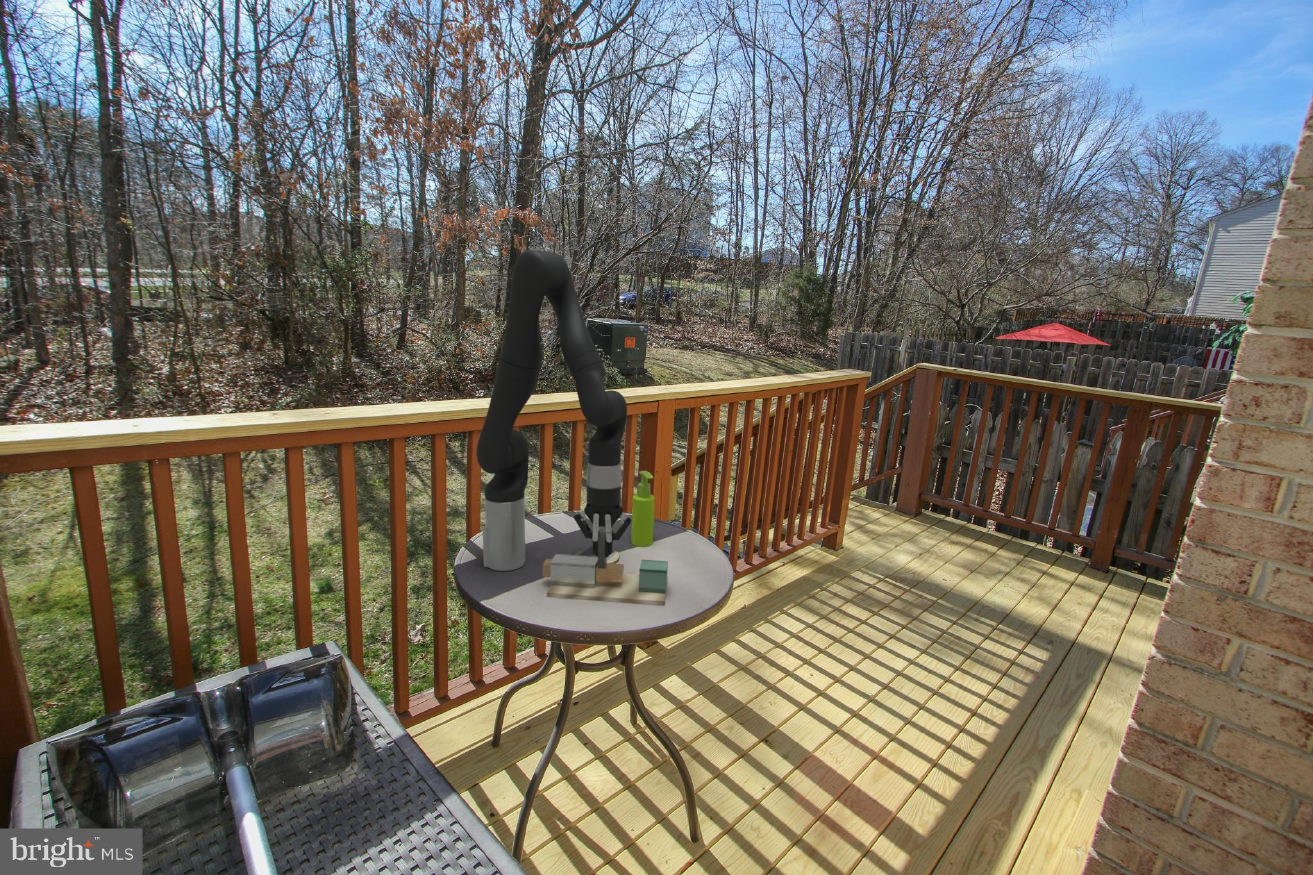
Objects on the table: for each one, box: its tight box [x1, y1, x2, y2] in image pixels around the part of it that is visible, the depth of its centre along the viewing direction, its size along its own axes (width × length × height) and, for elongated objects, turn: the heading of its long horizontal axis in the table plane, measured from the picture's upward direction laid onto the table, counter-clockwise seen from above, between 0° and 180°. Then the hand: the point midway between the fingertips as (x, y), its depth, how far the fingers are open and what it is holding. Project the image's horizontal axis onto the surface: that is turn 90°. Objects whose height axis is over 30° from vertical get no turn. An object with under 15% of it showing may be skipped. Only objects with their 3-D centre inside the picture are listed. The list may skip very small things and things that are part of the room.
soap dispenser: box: [630, 470, 656, 548], centre depth 163 cm, size 6×7×20 cm
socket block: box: [638, 559, 669, 594], centre depth 138 cm, size 6×5×6 cm
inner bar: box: [542, 531, 625, 582], centre depth 138 cm, size 18×3×10 cm, turn 86°
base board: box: [546, 572, 669, 606], centre depth 140 cm, size 26×12×1 cm, turn 86°
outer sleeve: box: [550, 553, 598, 588], centre depth 139 cm, size 10×5×6 cm, turn 85°
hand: (602, 555), depth 138 cm, fingers closed on inner bar
